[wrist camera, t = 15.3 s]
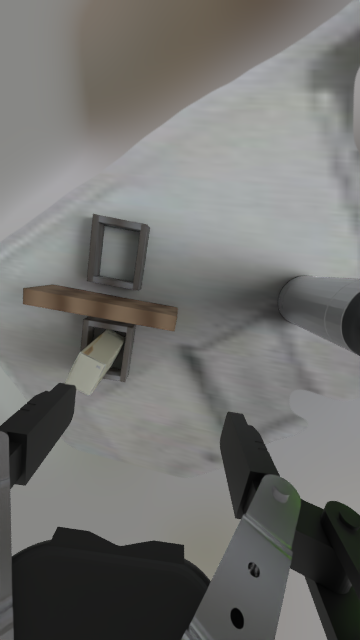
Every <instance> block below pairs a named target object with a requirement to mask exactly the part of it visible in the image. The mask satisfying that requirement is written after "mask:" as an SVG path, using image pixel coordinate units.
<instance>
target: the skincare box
mask: <svg viewBox="0 0 360 640" xmlns="http://www.w3.org/2000/svg"><path fill="white" fill-rule="evenodd" d="M125 340H126V338H125V337H123V336H121V335H119V334H117V333H116V332H114V331H112V330H110V329H106V330H105V331H104V332H103V333H102V334H101V335H100V336H98V337H97V338H96V339H95V340H94V341H93V342H92V343H90V344H89V345H88V346H87V347H86V348H85V349H83V350H82V351H81V352H80V353H79V355H78V356H77V358H76V360H75V362H74V364H73V366H72V368H71V370H70V372H69V375H68V377H67V379H66V382H65V384H70V385H75V386H76V390H77V391H79V392H81V393H83V394H85V395H87V396H90V395H91V394H92V392H93V391H94V389H95V388H96V387H97V385H98V384H99V382H100V381H101V379H102V378H103V377H104V375H105V374H106V372H107V371H108V370H109V368H110V367H111V365H112V364H113V362H114V361H115V359H116V357H117V356H118V354H119V352H120V350H121V348H122V346H123V344H124V342H125Z"/></svg>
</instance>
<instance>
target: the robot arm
mask: <svg viewBox="0 0 360 640" xmlns="http://www.w3.org/2000/svg"><path fill="white" fill-rule="evenodd" d="M278 307H279V311H280V313H281V315H282V316H283V317H284V318H285V319H286V320H288V321H289V322H291V323H293V324H295V325H297V326H299V327H301V328H303V329H305V330H307V331H309V332H312V333H314V334H316V335H318V336H320V337H322V338H324V339H326V340H328V341H330V342H332V343H334V344H336V345H338V346H340V347H343V348H345V349H347V350H349V351H351V352H353V353H355V354H357V355H359V356H360V279H353V278H335V277H319V276H300V277H296V278H294V279H292V280H291V281H289V282H288V283H287V284H286V285H285V286H284V287H283V289H282V290H281V292H280V295H279V299H278ZM75 394H76V386H75V385H70V384H64V383H59V384H57V385H56V386H55V387H54V388H53V389H52V390H51V391H50V392H49V391H45V392H42V393H40V394H38V395H36V396H34V397H33V398H32V399H31V400H30V401H29V402H27V404H25V405H24V406H23V407H22V408H21V409H20V410H18V411H17V412H16V413H15V414H14V415H12V416H11V417H10V418H9V419H8V420H7V421H6V422H4V423H3V424H2V425H1V426H0V640H275V635H276V630H277V625H278V621H279V616H280V612H281V607H282V602H283V598H284V593H285V588H286V583H287V579H288V574H289V569H290V568H291V569H293V570H295V571H297V572H298V573H301V574H302V575H304V576H305V579H306V581H307V584H308V587H309V589H310V592H311V595H312V598H313V601H314V603H315V606H316V609H317V612H318V615H319V617H320V620H321V623H322V626H323V628H324V631H325V634H326V637H327V639H328V640H360V515H359V514H357V513H356V512H355V511H354V510H352V509H351V508H349V507H348V506H346V505H344V504H342V503H340V502H337V501H329V502H328V503H327V504H326V506H325V508H324V509H322V508H320V507H317V506H315V505H313V504H310V503H308V502H306V501H304V500H302V499H301V498H300V496H299V494H298V492H297V490H296V489H295V488H294V487H293V486H292V485H291V484H290V483H289V482H288V481H287V480H285V479H283V478H281V477H280V475H279V473H278V471H277V469H276V467H275V465H274V463H273V461H272V459H271V457H270V454H269V452H268V451H267V448H266V446H265V444H264V442H263V440H262V438H261V435H260V434H259V433H258V431H257V430H256V429H255V428H254V427H253V426H250V425H248V424H247V422H246V420H245V417H244V415H243V414H240V413H234V412H228V413H227V415H226V419H225V422H224V426H223V430H222V434H221V438H220V450H221V455H222V459H223V464H224V468H225V473H226V478H227V482H228V487H229V491H230V496H231V501H232V505H233V510H234V514H235V518H237V519H241V521H240V523H239V525H238V527H237V529H236V531H235V533H234V535H233V537H232V539H231V541H230V543H229V545H228V548H227V549H226V551H225V554H224V556H223V558H222V560H221V562H220V564H219V566H218V568H217V570H216V572H215V575H214V576H213V578H212V580H211V581H210V580H209V579H208V578H207V576H206V575H205V574H204V573H203V572H202V571H201V570H200V569H199V568H198V567H197V566H195V565H194V564H192V563H191V562H190V561H188V560H186V559H184V545H180V544H173V543H167V542H160V541H148V542H142V543H136V544H131V545H125V546H118V545H115V544H113V543H111V542H109V541H107V540H105V539H103V538H101V537H99V536H97V535H95V534H94V533H91V532H89V531H84V530H76V529H69V528H63V527H57V529H56V531H55V533H54V535H53V538H52V540H48V541H44V542H40V543H37V544H35V545H32V546H30V547H27V548H26V549H24V550H22V551H20V552H18V553H17V554H15V555H14V556H12V554H11V504H10V489H11V488H12V487H13V485H14V484H18V485H26V484H27V483H28V481H29V480H30V478H31V477H32V475H33V474H34V473H35V472H36V470H37V469H38V467H39V466H40V465H41V463H42V462H43V460H44V459H45V458H46V456H47V455H48V453H49V452H50V451H51V449H52V448H53V446H54V445H55V443H56V442H57V441H58V440H59V438H60V437H61V435H62V434H63V433H64V431H65V430H66V428H67V427H68V426H69V424H70V422H71V420H72V417H73V414H74V405H75Z"/></svg>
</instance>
